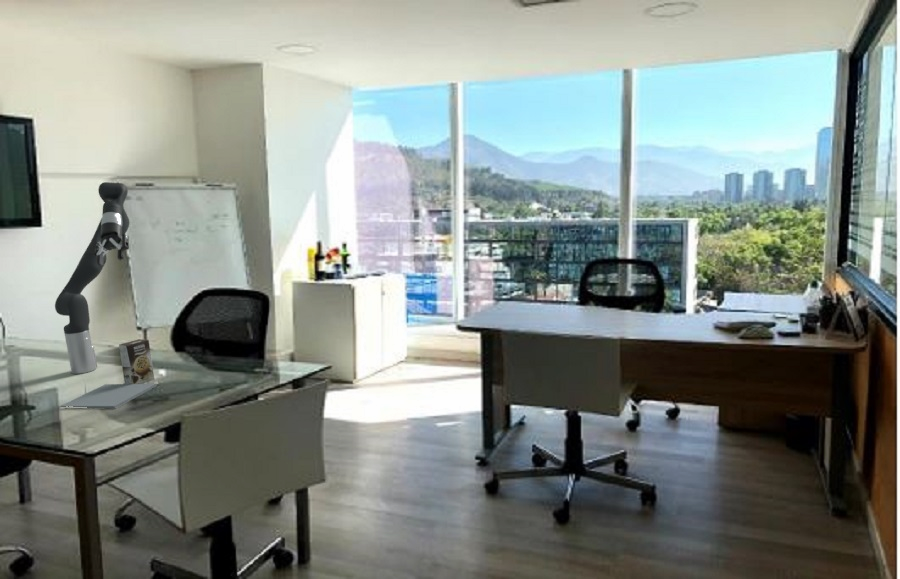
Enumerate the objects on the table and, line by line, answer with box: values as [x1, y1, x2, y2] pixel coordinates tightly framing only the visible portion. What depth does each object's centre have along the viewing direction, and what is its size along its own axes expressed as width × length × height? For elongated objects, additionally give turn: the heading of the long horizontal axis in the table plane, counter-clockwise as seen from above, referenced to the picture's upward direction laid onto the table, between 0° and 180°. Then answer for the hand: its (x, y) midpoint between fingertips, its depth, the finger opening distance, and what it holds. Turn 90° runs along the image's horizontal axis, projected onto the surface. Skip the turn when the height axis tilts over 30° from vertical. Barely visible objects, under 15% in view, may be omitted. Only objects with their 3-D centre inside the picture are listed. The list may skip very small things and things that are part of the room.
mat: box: [59, 383, 158, 410], centre depth 250 cm, size 24×22×1 cm
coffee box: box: [118, 338, 155, 384], centre depth 266 cm, size 9×6×16 cm
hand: (110, 262), depth 266 cm, fingers open, 8 cm apart
